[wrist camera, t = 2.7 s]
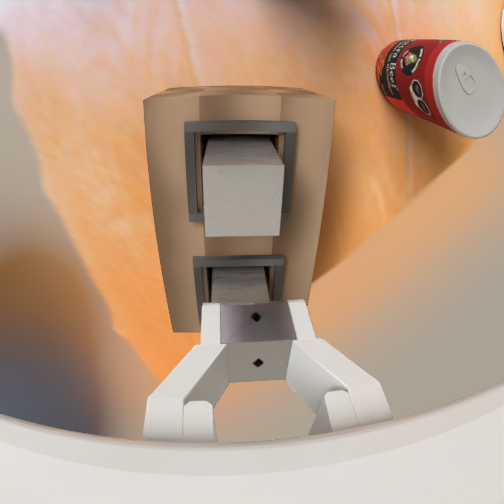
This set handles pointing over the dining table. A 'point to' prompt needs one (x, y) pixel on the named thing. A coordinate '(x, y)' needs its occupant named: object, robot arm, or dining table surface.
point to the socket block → (192, 199)
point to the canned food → (444, 84)
